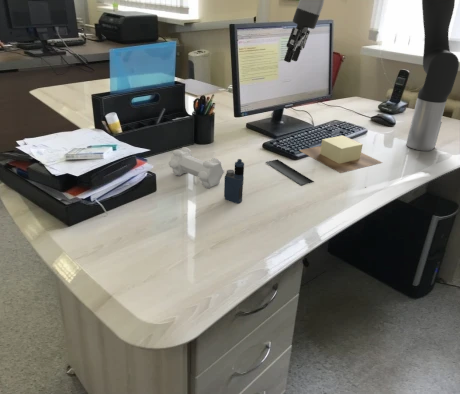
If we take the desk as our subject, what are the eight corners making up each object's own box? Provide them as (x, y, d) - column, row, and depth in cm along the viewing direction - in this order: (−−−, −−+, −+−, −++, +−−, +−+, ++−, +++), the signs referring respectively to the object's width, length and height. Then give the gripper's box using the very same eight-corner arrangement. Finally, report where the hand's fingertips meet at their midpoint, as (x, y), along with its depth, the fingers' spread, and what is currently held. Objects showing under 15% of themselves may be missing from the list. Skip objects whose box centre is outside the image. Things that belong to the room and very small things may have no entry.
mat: (300, 155, 143) (300, 154, 143) (337, 176, 129) (337, 175, 129) (265, 162, 137) (265, 161, 137) (300, 185, 123) (301, 184, 123)
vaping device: (239, 205, 112) (241, 162, 106) (222, 199, 114) (223, 157, 108) (244, 201, 114) (246, 159, 108) (227, 195, 116) (228, 154, 110)
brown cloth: (338, 146, 152) (339, 142, 151) (381, 166, 137) (382, 162, 136) (298, 154, 144) (298, 150, 143) (339, 177, 129) (340, 173, 128)
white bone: (224, 184, 123) (227, 158, 120) (204, 192, 117) (206, 164, 114) (187, 169, 132) (188, 144, 128) (166, 175, 125) (167, 149, 122)
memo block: (340, 149, 145) (342, 135, 143) (359, 158, 138) (362, 144, 136) (320, 153, 141) (322, 139, 139) (339, 163, 134) (341, 148, 132)
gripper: (314, 12, 128) (295, 66, 135) (324, 15, 140) (305, 64, 147) (291, 4, 130) (273, 58, 137) (303, 7, 142) (286, 56, 149)
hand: (290, 61), depth 142 cm, fingers open, 8 cm apart
